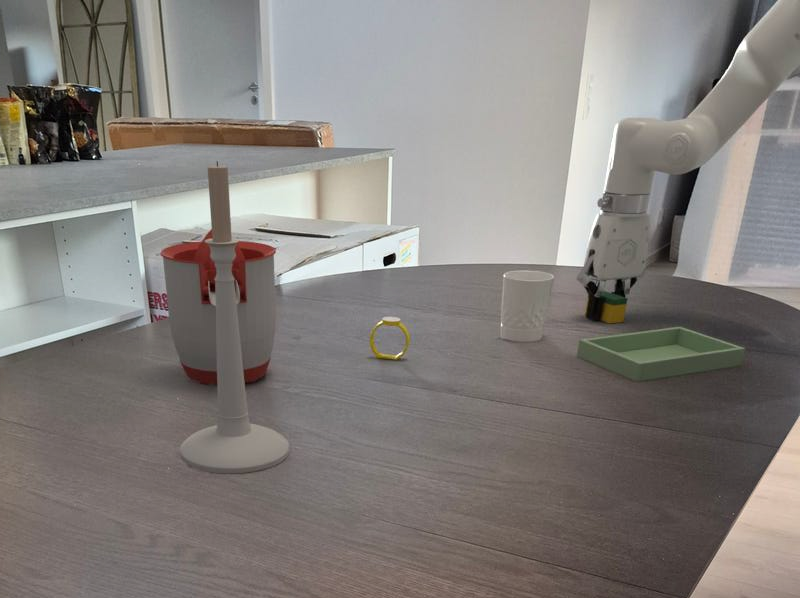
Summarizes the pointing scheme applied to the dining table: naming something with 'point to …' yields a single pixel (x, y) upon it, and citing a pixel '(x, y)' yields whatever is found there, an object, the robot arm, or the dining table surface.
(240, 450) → the candlestick
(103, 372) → the dining table surface
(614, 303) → the sponge
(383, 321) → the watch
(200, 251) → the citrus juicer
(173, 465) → the dining table surface
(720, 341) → the tray
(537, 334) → the white cup
